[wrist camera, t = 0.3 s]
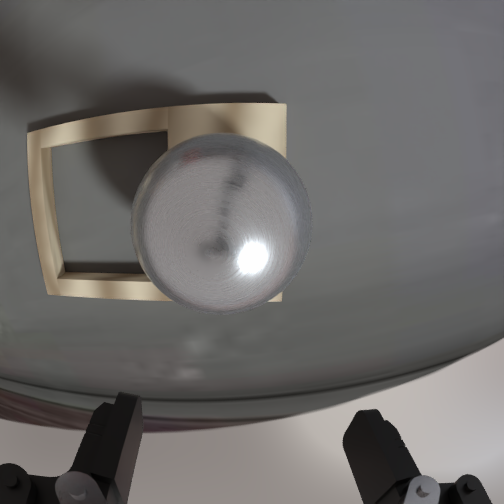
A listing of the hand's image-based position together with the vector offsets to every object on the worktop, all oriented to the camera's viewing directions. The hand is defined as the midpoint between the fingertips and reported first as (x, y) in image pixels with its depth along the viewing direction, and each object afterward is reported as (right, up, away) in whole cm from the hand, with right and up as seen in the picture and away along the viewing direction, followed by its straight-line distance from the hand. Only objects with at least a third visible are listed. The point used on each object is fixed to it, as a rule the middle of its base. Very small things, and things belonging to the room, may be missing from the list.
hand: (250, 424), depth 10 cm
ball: (-2, +8, +11) cm, 14 cm away
